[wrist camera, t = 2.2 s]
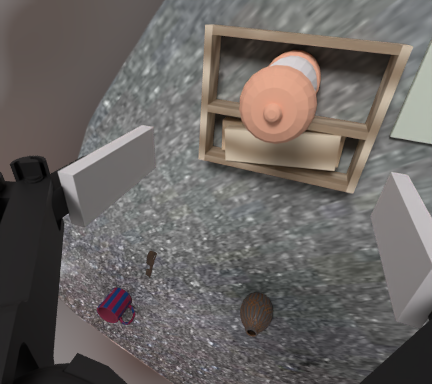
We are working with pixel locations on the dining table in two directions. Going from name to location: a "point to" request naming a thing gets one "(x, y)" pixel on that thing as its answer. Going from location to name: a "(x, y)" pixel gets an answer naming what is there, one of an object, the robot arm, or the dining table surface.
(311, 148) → the upper offcut
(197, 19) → the dining table surface
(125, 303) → the mug
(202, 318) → the dining table surface
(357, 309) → the dining table surface
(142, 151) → the robot arm
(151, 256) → the thin brown sliver
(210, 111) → the rack
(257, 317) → the vase
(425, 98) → the mat
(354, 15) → the dining table surface
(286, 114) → the salt shaker
